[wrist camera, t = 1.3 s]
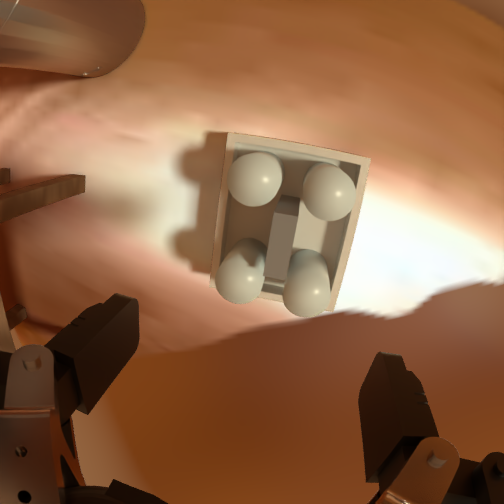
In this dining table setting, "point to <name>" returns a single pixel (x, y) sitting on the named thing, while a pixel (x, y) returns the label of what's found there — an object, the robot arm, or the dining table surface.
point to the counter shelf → (19, 204)
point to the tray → (285, 222)
